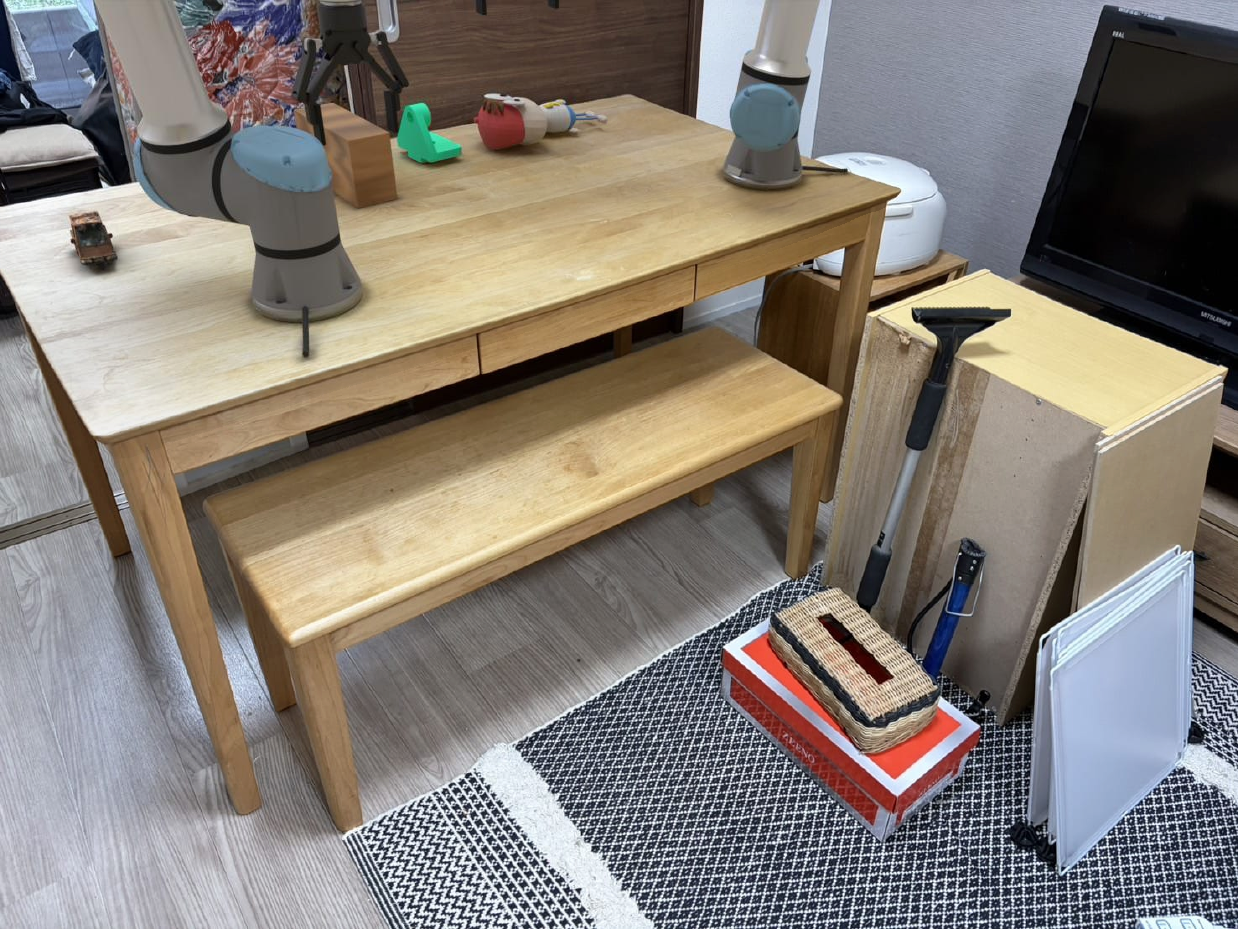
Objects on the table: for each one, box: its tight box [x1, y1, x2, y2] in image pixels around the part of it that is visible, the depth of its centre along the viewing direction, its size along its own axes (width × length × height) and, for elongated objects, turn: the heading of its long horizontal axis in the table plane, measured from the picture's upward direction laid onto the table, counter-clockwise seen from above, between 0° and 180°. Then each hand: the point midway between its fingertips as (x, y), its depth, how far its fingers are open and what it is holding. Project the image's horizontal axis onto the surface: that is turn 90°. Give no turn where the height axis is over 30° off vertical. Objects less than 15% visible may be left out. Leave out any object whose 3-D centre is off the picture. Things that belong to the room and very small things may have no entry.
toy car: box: [68, 210, 118, 272], centre depth 141 cm, size 6×12×7 cm, turn 39°
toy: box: [473, 93, 609, 150], centre depth 194 cm, size 18×10×30 cm
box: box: [293, 102, 398, 209], centre depth 168 cm, size 22×8×12 cm, turn 40°
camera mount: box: [396, 102, 463, 164], centre depth 182 cm, size 12×8×10 cm, turn 42°
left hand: (357, 137), depth 160 cm, fingers open, 13 cm apart
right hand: (518, 10), depth 159 cm, fingers open, 13 cm apart
